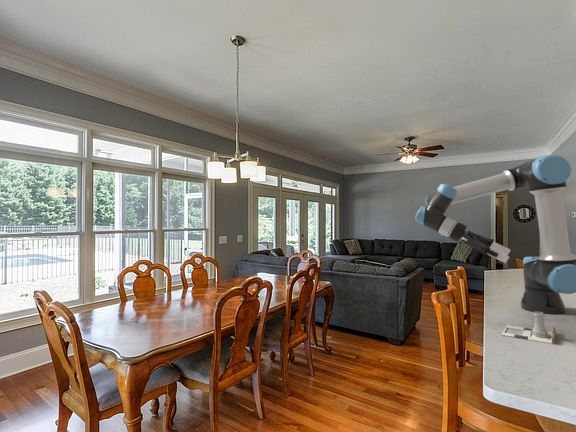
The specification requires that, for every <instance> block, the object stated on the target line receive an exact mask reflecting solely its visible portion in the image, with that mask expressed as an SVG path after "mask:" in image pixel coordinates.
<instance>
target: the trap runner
mask: <svg viewBox="0 0 576 432" xmlns="http://www.w3.org/2000/svg"><path fill="white" fill-rule="evenodd" d="M510 328H511V330H517V331H522V334H514V333H510V332H508V333H507V332H506V331H507V329H510ZM532 329H533V328H528V327H521V326H515V325H510V324H507V325H506V326H505V328H504V330H503V332H502V334H501V336H502V335H505V336H504V337H508V336H511V337H510V338H514V337H516V338H515V339H520V338H521V339H522V340H527V341H532V342H533V341H534V342H538V343H539V342H540V343H546V344H552V345H555V340H556V327H552V331H548V330H547V332H548V337H547V338H540V337H536V336H534V335H533V334H532V333H533V331H532Z"/></svg>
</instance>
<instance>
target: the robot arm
mask: <svg viewBox="0 0 576 432" xmlns="http://www.w3.org/2000/svg"><path fill="white" fill-rule="evenodd" d="M571 173H572V167H571V163H569V161H568V160H567V159H565V158H564V157H562V156H560V155H557V154H547V155H543V156H539V157H537V158H534V159H531V160H527V161H526V162H523V163H521V164H519V165H517V166H514V167H512V168H511V167H510V168H509V169H506V170H503V172H502V173H499V174H497V175H492V176H489V177H485V178H481V179H477V180H474V181H471V182H466V183H463V184H459V185H456V186H452V185H449V184H446V183H441V184H439V186H438V187H437V188H436V191H434V192H430V193H428V195H427V196H426V197H425V204H426V206H425V205H422V206H420V208H419V209H418V210H417V212H416V214H415V217H414V219H415V222H416V223H418V224H421V225H422V226H424V227H426V228H428V229H430V230H432V231H434V232H436V233H439V235H440V236H445V237H448V238H449V239H450V240H452V241H455V242H457V243H458V242H459V241H461V242H462V243H465V244H467V245H468V246H469V247H471V248H473V249H475V250H476V251H478V252H479V253H480V254H482V255H483V256H487V255H488V256H489V257H491V258H494V259H496V260H497V261H500V262H502V263H503V264H506V263H507V262H508V260H509V259H510V256H509V254H510V252H511V249H510V248H509V247H505V246H504V245H501V244H500V243H497V242H495V239H493V238H489V237H486V236H483V235H480V234H478V233H475V232H472V231H471V230H468V231H466V230H467V225H466V224H464V223H461V222H457V220H455V219H453V218H451V217H448V216H446V215H445V214H446V212H447V210H448V209H449V208H450V206H451V205H455V204H458V203H461V202H465V201H469V200H473V199H477V198H481V197H484V196H488V195H493V194H497V193H500V192H504V191H507V190H508V191H510V192H512V191H516V190H522V189H528V191H529V193H530V194H531V195H533V196H534V201H535V208H536V216H537V223H538V229H539V236H540V237H539V238H540V244H541V252H542V254H541V255H540V256H524V258H523V260H522V267H523V269H522V270H523V282H524V292H523V295H522V296H521V301H520V308H521V309H524V310H526V311H529V312H533V313H534V312H535V311H536V312H537V311H539V313H540V312H542V313H544V314H551V315H553V314H557V315H558V314H559V315H560V314H564V313H565V312H566V306H565V303H564V300H563V299H562V297H561V294H565V295H572V294H575V293H576V256H575V255H574V254H572V253H571V246H570V245H571V244H570V238H569V232H568V231H569V230H568V225H567V219H566V217H567V216H566V210H565V204H564V197H563V192H564V191H565V190H566V189H567V180H568V179H569V177H570V176H571Z"/></svg>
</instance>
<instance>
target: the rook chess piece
mask: <svg viewBox="0 0 576 432" xmlns="http://www.w3.org/2000/svg"><path fill="white" fill-rule="evenodd" d="M532 316H534V319H533V320H534V327H533V328H531V329H532V331H533V332H532V333H531V335H532V334H533V335H534V336H536V337H540V338H547V337H548V332H547V331H548V330H547V328H546V326H545V319H544V318H545V317H546V314H545V313H542V312H540V313H539V311H537V312H536V311H535V312H533V314H532Z"/></svg>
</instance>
